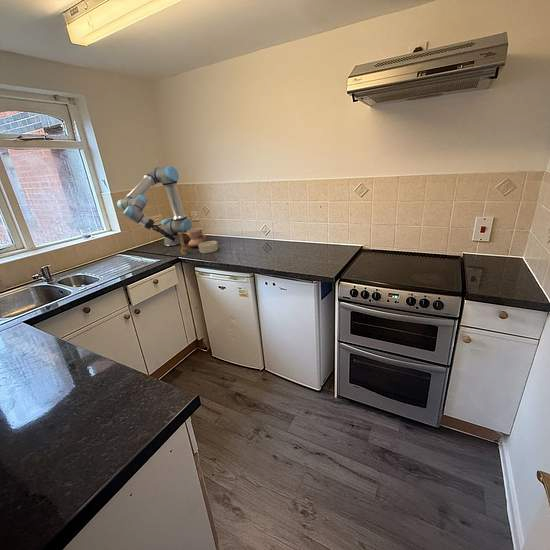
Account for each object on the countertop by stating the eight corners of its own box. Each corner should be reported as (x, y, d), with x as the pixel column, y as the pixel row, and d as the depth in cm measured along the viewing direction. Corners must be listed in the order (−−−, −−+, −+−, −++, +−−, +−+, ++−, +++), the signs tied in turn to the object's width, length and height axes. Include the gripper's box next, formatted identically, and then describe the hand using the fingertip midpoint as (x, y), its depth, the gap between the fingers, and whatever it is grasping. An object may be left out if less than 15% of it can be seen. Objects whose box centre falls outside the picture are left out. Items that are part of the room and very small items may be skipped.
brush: (183, 252, 235) (178, 232, 230) (189, 252, 234) (185, 232, 229) (180, 254, 230) (175, 234, 225) (186, 254, 229) (182, 234, 224)
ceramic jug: (184, 248, 246) (180, 232, 241) (195, 243, 258) (192, 227, 253) (201, 249, 238) (198, 232, 233) (212, 244, 250) (209, 227, 245)
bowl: (203, 248, 240) (202, 241, 238) (221, 247, 237) (219, 240, 235) (196, 254, 226) (195, 246, 224) (214, 253, 224) (213, 245, 222)
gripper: (141, 224, 223) (166, 239, 235) (146, 229, 202) (173, 245, 214) (146, 216, 223) (171, 231, 235) (152, 219, 203) (179, 236, 215)
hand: (172, 238), depth 225 cm, fingers open, 13 cm apart
